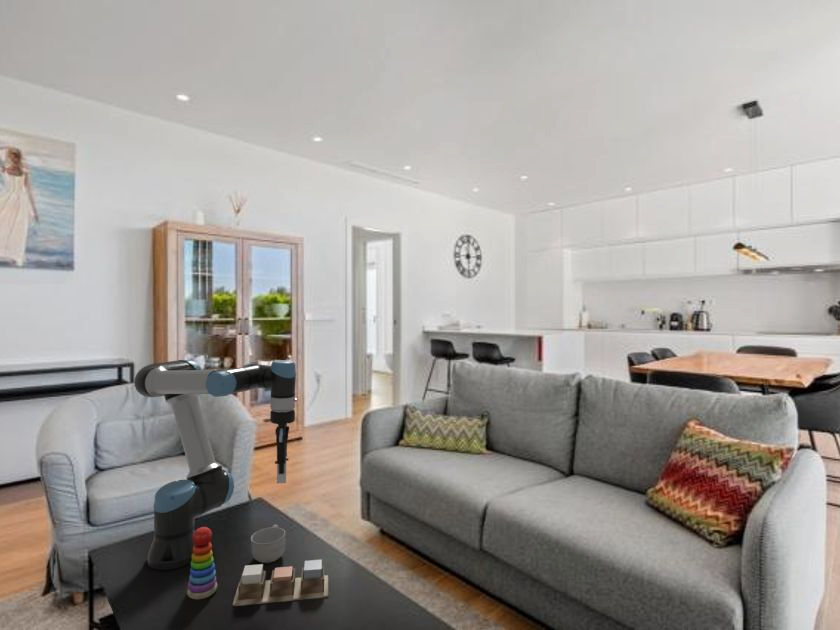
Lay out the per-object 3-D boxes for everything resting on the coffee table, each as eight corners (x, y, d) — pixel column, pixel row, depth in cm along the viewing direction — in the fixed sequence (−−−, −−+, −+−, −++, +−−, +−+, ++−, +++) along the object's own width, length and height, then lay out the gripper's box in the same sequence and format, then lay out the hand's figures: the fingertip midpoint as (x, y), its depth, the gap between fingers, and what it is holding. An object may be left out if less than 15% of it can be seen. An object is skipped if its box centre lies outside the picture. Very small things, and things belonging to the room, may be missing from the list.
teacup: (274, 569, 149) (275, 544, 148) (243, 564, 151) (244, 540, 150) (295, 547, 162) (295, 524, 162) (266, 542, 164) (266, 520, 164)
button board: (232, 606, 131) (232, 590, 131) (239, 584, 141) (239, 569, 140) (328, 597, 136) (328, 581, 136) (328, 576, 146) (328, 562, 146)
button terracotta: (273, 591, 135) (273, 577, 135) (274, 580, 140) (275, 567, 140) (291, 589, 136) (291, 576, 136) (292, 579, 141) (292, 566, 141)
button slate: (303, 583, 137) (304, 570, 137) (304, 573, 142) (304, 560, 142) (321, 582, 138) (321, 568, 138) (321, 572, 143) (321, 559, 143)
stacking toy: (223, 586, 140) (224, 523, 139) (205, 603, 132) (206, 537, 131) (199, 582, 141) (200, 520, 141) (180, 598, 133) (181, 533, 133)
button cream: (241, 589, 134) (242, 575, 133) (244, 578, 138) (245, 565, 138) (260, 587, 134) (260, 574, 134) (262, 577, 139) (262, 564, 139)
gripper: (293, 414, 145) (292, 490, 146) (296, 404, 158) (294, 474, 158) (268, 414, 143) (266, 491, 144) (272, 404, 156) (271, 475, 157)
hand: (281, 482), depth 151 cm, fingers closed
